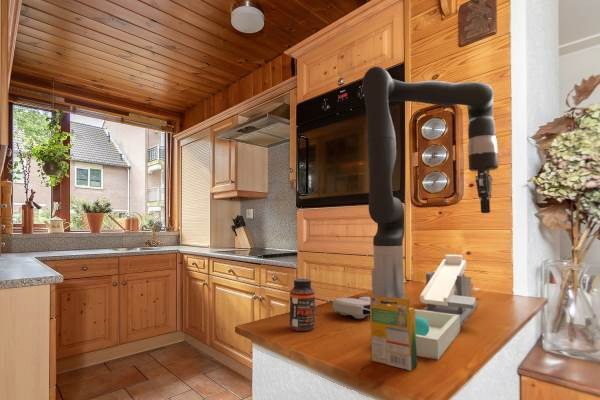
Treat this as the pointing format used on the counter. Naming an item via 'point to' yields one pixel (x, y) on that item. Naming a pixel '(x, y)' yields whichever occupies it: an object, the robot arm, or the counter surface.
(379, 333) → the crayon box
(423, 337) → the tray
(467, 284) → the architectural model
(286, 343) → the counter surface
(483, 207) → the robot arm
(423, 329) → the ball
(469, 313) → the stand
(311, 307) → the supplement bottle
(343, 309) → the robot toy
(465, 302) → the trough
